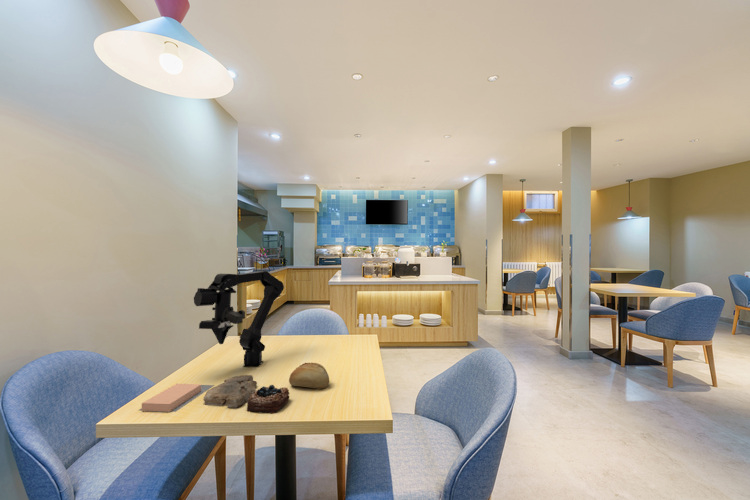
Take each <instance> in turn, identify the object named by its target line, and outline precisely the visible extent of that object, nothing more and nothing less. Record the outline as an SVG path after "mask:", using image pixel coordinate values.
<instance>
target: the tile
mask: <svg viewBox="0 0 750 500" xmlns="http://www.w3.org/2000/svg"><path fill="white" fill-rule="evenodd" d="M201 385H202V384H201V383H199V384H198V383H175V384H173V385H171V386H170V387H167V388H166V389H164V390H163V391H161V392H159V393H158V394H155V395H154V396H152V397H150V398H148V399H147V400H145V401H143V402H141V408H142V411H143V412H164V413H165V412H168V413H170V411H172V410H173V409H175V408H176V407H178V406H179V405H181V404H182V403H184V402H185V401H187V400H188V399H190V398H191V397H193V396H194V395H196V394H197V393H199V392H200V391H201Z"/></svg>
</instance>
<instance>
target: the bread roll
mask: <svg viewBox="0 0 750 500" xmlns="http://www.w3.org/2000/svg"><path fill="white" fill-rule="evenodd" d="M288 383H289V385H291V386H293V387H294V386H295V387H303V388H311V389H320V390H321V389H325V388H327V387H328V386H330V385H329V384H330V377H329V373H328V371H327V369H326V367H324V365H322V364H320V363H317V362H304V363H302V364H299V366H297V367H296V368H295V369H294V370H293V371H292V372H291V373H290V375H289V379H288Z"/></svg>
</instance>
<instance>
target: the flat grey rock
mask: <svg viewBox="0 0 750 500" xmlns="http://www.w3.org/2000/svg"><path fill="white" fill-rule="evenodd" d="M257 385H258V381H256V380H254V376H253V375H251V374H246V375H245V374H244V375H237V376H232V377H229V378H226V379H224V381H223V382H222V383H220V384H218V385H216V386H213V387H211V388H210V389H208V390H207V391H206V392H205V394H204V396H203V398H202V399H203V402H204V404H205V405H207V406H212V407H213V406H214V407H222V406H223V407H224V406H225V407H227V408H228V409H229V408H231V409H237V408H239V407H240V406H241V405H243V404H246V403H247V402H248V399H249V397H250V396H251V395H252V394H254V391H256V388H257Z"/></svg>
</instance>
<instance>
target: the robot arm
mask: <svg viewBox="0 0 750 500" xmlns="http://www.w3.org/2000/svg"><path fill="white" fill-rule="evenodd" d="M255 281H260V283H261V285H262V286H263V287H264V288H263V298H262V300H261V303H260V304H259V307H258V309H257V311H256V313H255V315H254V318H253V320H252V321H251V324H250V325H249V327H248V328H243V330H242V332H241V334H240V336H238V338H239V342H238V343H239V345H240V347H242V350H243V351H244V354H243V364H244V365H243V368H248V367H249V368H251V367H255V368H257V367H260V366H261V365H262V364H263V363H264V360H262V359H263V351H265V348H266V345H265V344H264V343H263V342H261V339H262V329H263V327H264V325H265V323H266V320H267V317H268V315H269V314H270V311H271V308H272V306H273V304H274V302H275V300H277V298H279V297H280V296H281V294H282V293H283V291H284V288H285V285H284V283H283V282H282V281H281V280H279V279H278V278H276V277H275V276H273V275H272V274H271V273H270V272H269V271H266V270H259V271H254V272H253V271H252V272H246V273H245V272H244V273H237V274H235V273H217V274H216V275H215V277H214V279H213V281H212V282H211V283H210V284H209V286H208V287H207V288H204V287H203V288H202V287H200V288H199V287H198V288H197V291H196V292H195V294H194V296H193V303H194V305H195V306H196V307H208V306H214V307H212V311H214V317H211V319H206V320H201V321H200V322H199V324H198V330H199V329H200V330H212V333H213V334H214V336H215V338H216V340H217V342H218V344H219V345H223V344H224V342H225V340H226V337H227V335H228V332H229V330H231V329H232V328H234V325H237V324H243V320H244V319H245V318H246V311H245V310H244V309H242V310H241V309H240V310H238V311H235V310H234V306H231V303H232V294H236V293H237V291H236V290H235V289H234V287H235V286H238V285H240V284H243V283H244V284H245V283H250V282H255ZM233 324H234V325H233Z"/></svg>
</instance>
